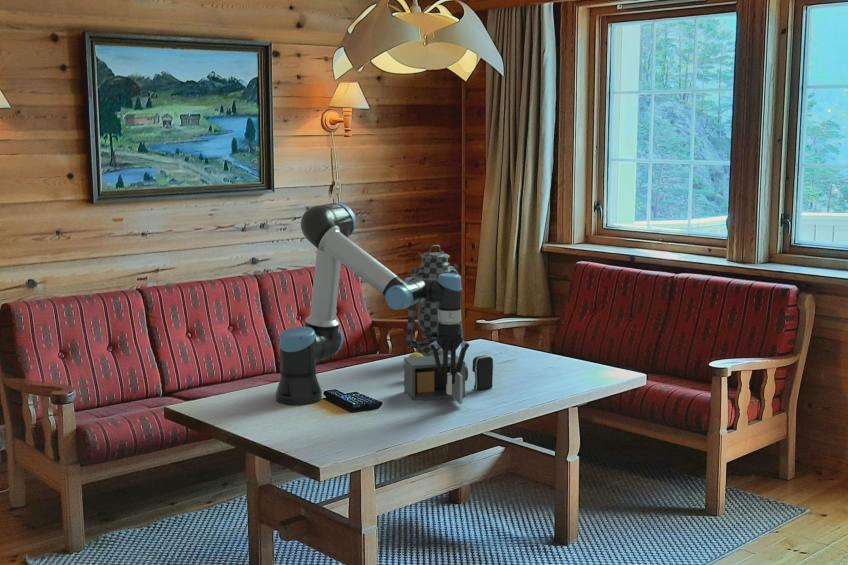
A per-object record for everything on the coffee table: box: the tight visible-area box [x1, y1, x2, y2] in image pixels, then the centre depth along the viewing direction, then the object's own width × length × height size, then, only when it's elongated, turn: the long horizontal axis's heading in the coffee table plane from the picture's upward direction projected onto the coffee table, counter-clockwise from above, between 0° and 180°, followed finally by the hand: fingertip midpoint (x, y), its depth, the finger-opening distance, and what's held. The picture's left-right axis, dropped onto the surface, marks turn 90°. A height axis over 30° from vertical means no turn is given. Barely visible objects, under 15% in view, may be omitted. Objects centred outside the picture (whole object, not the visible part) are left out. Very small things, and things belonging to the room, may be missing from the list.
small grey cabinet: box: [403, 354, 469, 402], centre depth 343 cm, size 20×12×13 cm, turn 105°
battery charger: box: [471, 354, 494, 391], centre depth 351 cm, size 7×4×11 cm, turn 125°
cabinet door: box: [450, 367, 464, 405], centre depth 333 cm, size 12×1×9 cm, turn 15°
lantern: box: [406, 244, 464, 356], centre depth 387 cm, size 24×18×45 cm
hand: (448, 393), depth 329 cm, fingers closed
